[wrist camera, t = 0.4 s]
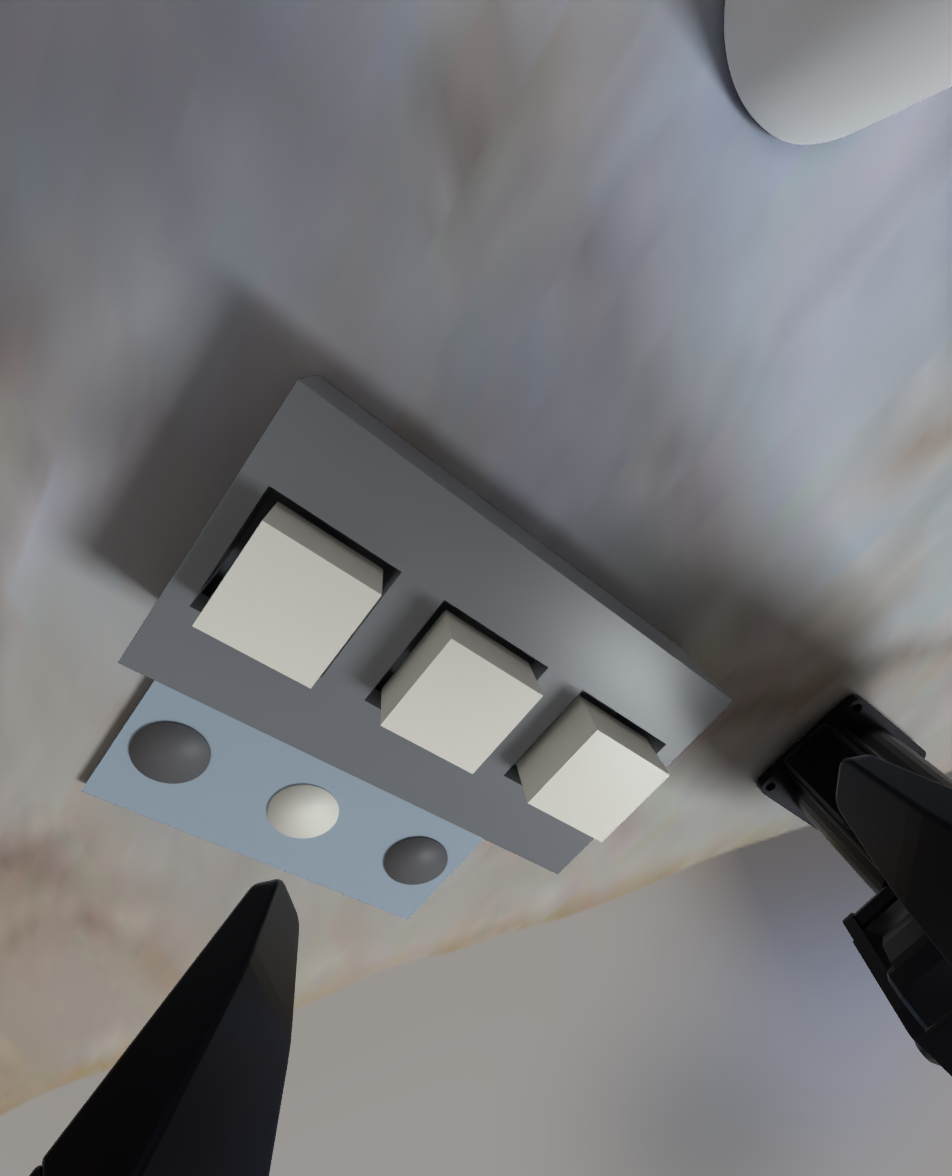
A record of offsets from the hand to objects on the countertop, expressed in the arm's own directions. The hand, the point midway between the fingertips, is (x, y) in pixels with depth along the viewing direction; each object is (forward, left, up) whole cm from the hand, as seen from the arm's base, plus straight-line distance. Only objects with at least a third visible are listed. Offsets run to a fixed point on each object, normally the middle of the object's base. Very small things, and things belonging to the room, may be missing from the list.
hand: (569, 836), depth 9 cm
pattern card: (-1, +13, -13) cm, 19 cm away
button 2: (-7, +3, -10) cm, 13 cm away
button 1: (+5, +3, -10) cm, 11 cm away
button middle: (-1, +3, -10) cm, 10 cm away
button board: (-1, +3, -13) cm, 14 cm away
